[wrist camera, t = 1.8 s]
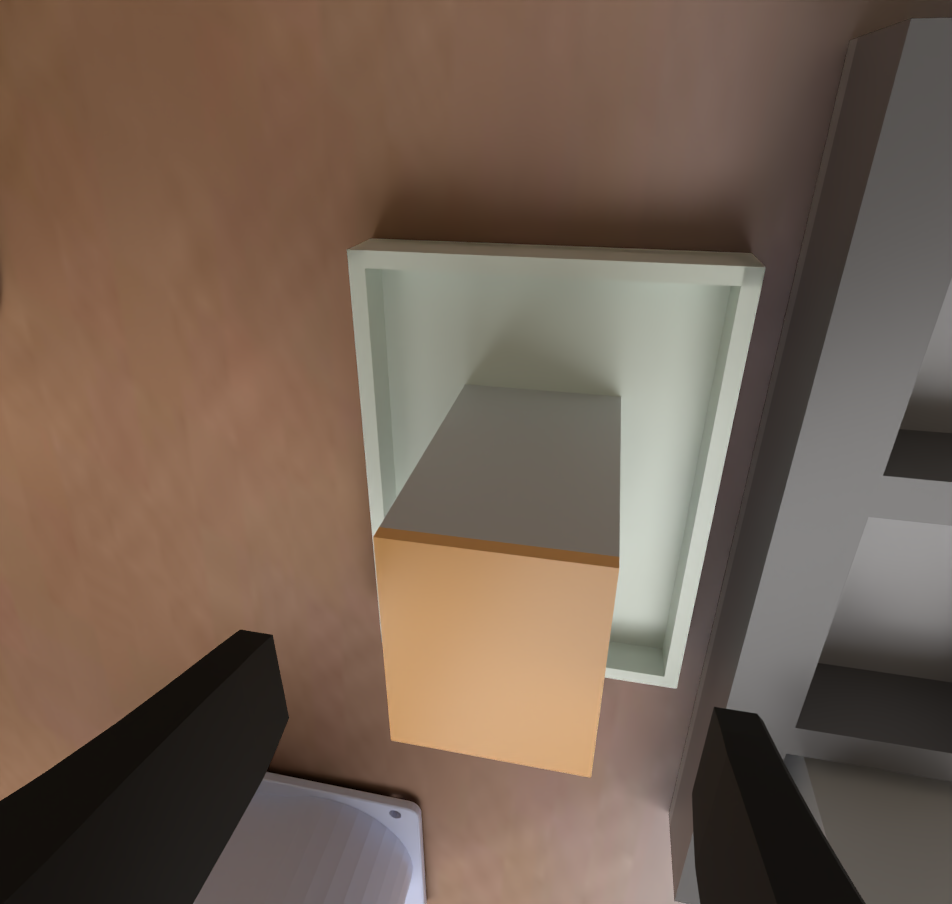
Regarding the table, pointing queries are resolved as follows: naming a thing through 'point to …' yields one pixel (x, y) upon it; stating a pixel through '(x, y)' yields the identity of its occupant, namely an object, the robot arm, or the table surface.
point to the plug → (504, 578)
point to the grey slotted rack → (852, 454)
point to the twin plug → (882, 828)
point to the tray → (571, 387)
